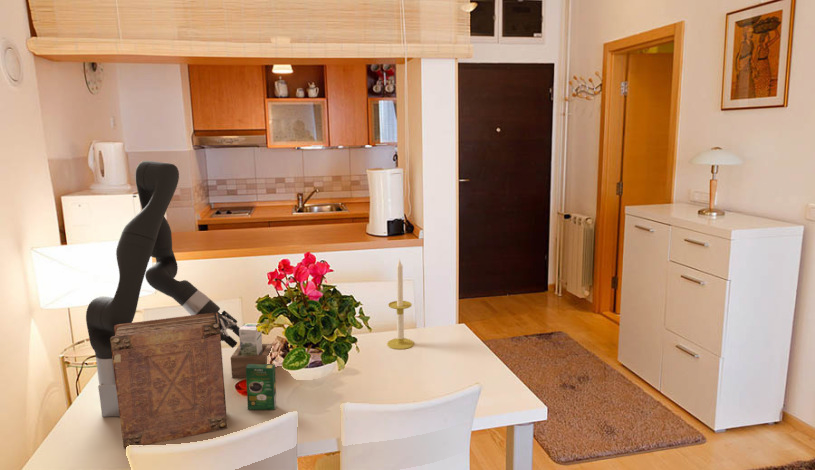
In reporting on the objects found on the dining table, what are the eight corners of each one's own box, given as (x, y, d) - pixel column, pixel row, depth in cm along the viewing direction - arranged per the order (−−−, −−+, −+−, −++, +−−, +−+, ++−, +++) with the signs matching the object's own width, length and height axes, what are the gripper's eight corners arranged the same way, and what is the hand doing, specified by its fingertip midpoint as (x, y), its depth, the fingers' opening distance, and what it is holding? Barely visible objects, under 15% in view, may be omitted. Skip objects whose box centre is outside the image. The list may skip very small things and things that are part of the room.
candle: (402, 336, 210) (401, 254, 204) (419, 344, 203) (419, 259, 196) (381, 343, 204) (379, 258, 197) (398, 351, 196) (397, 263, 190)
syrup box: (264, 363, 185) (261, 322, 183) (258, 371, 180) (255, 329, 177) (247, 363, 186) (244, 322, 183) (241, 370, 180) (238, 328, 177)
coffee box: (278, 405, 160) (275, 363, 157) (275, 410, 157) (272, 367, 154) (250, 405, 160) (247, 363, 157) (247, 410, 157) (244, 367, 154)
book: (122, 449, 139) (108, 337, 133) (126, 431, 147) (113, 324, 141) (228, 428, 148) (219, 322, 142) (225, 412, 156) (217, 311, 150)
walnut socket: (266, 377, 177) (265, 357, 176) (232, 377, 177) (230, 357, 176) (273, 362, 188) (272, 343, 187) (241, 363, 188) (240, 344, 187)
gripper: (200, 306, 170) (240, 341, 173) (216, 293, 184) (252, 324, 187) (185, 323, 171) (224, 357, 174) (201, 308, 185) (238, 339, 188)
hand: (239, 340), depth 180 cm, fingers open, 8 cm apart
